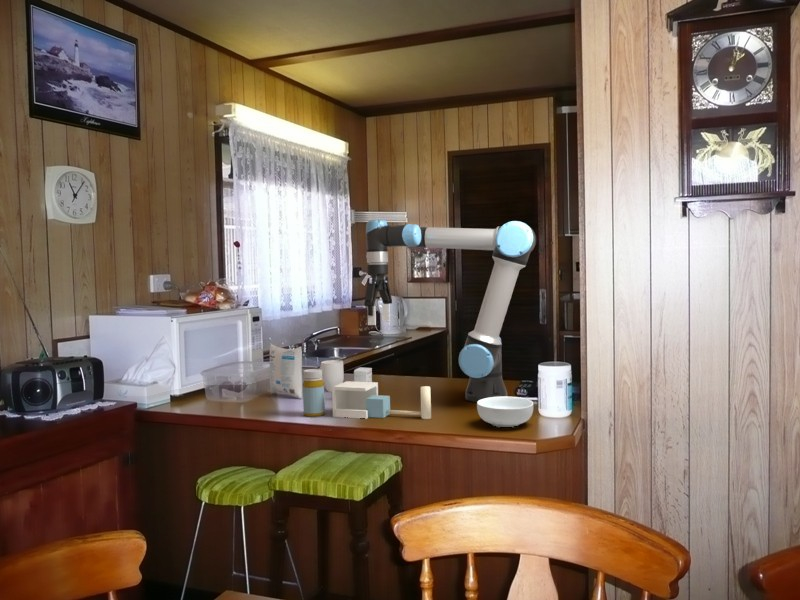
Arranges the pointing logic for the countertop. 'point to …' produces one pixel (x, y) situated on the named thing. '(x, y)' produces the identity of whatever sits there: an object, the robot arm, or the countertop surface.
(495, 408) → the cereal bowl
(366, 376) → the ink box
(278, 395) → the countertop surface
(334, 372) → the mug
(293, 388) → the pouch
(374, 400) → the toy mallet
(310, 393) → the bottle
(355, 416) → the cubby shelf
